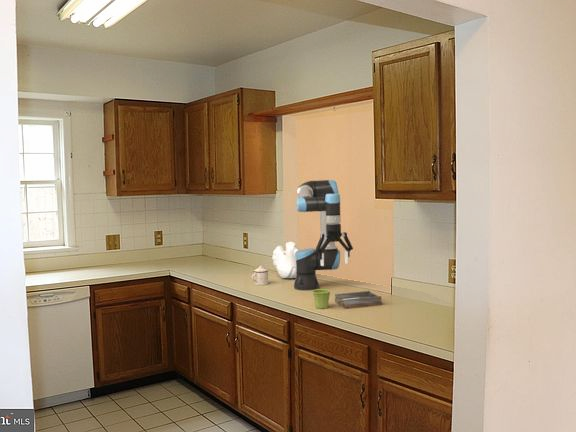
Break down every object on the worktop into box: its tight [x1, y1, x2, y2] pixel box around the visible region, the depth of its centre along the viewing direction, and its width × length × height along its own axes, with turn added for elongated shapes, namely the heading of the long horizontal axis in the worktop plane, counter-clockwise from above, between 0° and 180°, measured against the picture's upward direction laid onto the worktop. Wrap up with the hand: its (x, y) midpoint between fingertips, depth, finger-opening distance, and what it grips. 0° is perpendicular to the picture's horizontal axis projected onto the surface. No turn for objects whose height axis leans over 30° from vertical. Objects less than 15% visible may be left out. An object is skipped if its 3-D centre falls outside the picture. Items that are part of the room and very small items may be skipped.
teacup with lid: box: [251, 265, 269, 286], centre depth 342 cm, size 12×9×12 cm
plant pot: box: [312, 288, 332, 310], centre depth 277 cm, size 9×9×9 cm
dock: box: [334, 290, 382, 310], centre depth 283 cm, size 14×20×4 cm
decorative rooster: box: [271, 241, 300, 279], centre depth 362 cm, size 25×16×25 cm, turn 32°
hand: (334, 264), depth 278 cm, fingers open, 13 cm apart
